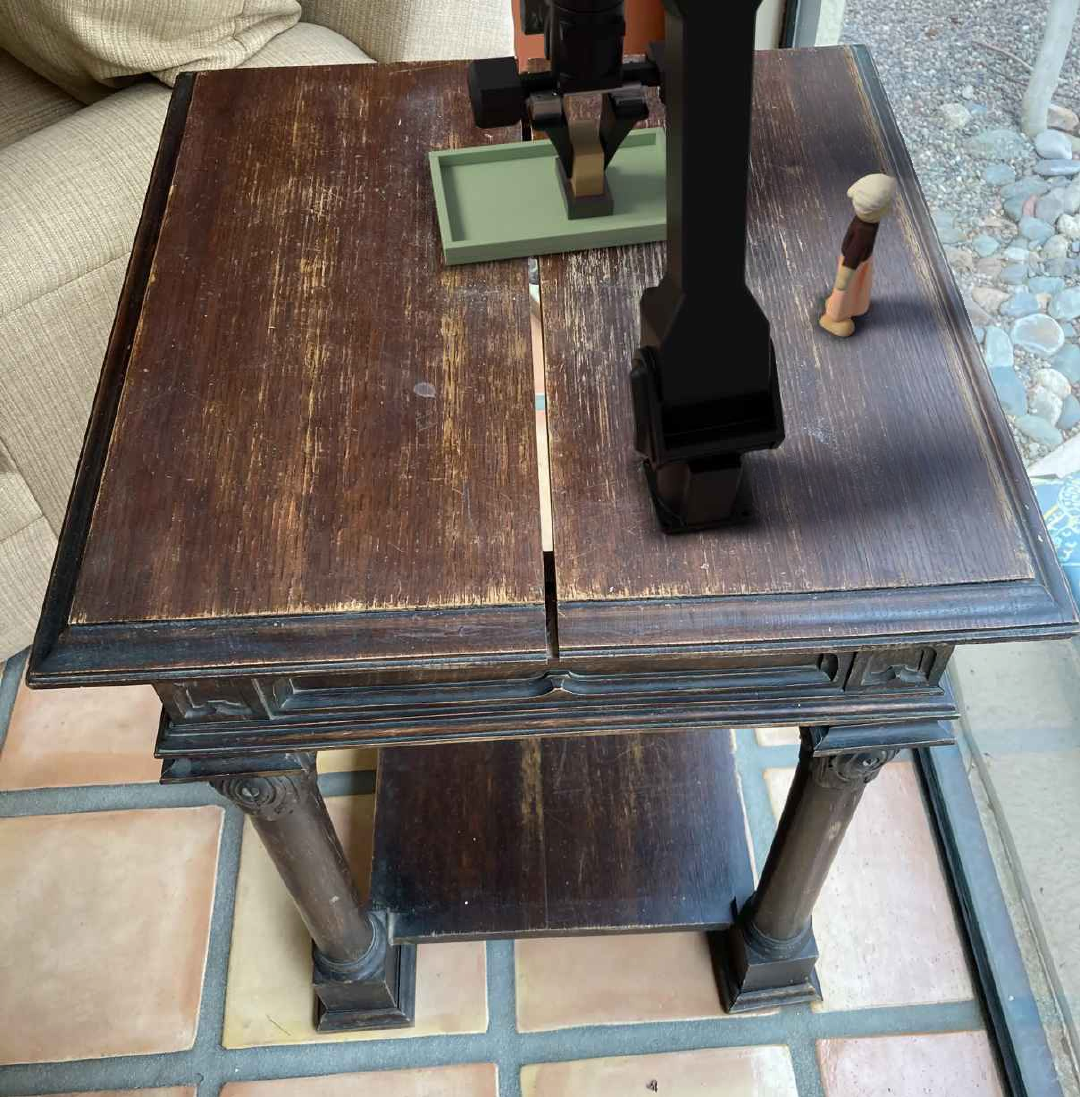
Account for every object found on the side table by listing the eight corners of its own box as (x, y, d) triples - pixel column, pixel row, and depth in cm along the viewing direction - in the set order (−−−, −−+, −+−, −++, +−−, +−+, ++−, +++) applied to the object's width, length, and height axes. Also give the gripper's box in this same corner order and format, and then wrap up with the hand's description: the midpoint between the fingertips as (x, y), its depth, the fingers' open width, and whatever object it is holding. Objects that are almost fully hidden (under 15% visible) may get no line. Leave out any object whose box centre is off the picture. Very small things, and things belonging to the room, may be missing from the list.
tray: (696, 236, 90) (698, 219, 88) (446, 265, 88) (444, 248, 87) (660, 143, 98) (662, 126, 96) (430, 169, 96) (428, 151, 95)
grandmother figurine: (864, 348, 82) (908, 212, 72) (814, 342, 82) (851, 206, 72) (866, 283, 86) (908, 146, 76) (819, 278, 87) (854, 141, 76)
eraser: (613, 215, 91) (616, 159, 86) (567, 220, 91) (568, 164, 86) (598, 166, 95) (600, 111, 90) (555, 171, 95) (554, 116, 90)
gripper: (684, -69, 84) (668, 110, 96) (452, -48, 82) (467, 131, 95) (719, 2, 77) (697, 184, 90) (468, 27, 76) (481, 208, 89)
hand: (584, 174), depth 91 cm, fingers closed on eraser, 2 cm apart
